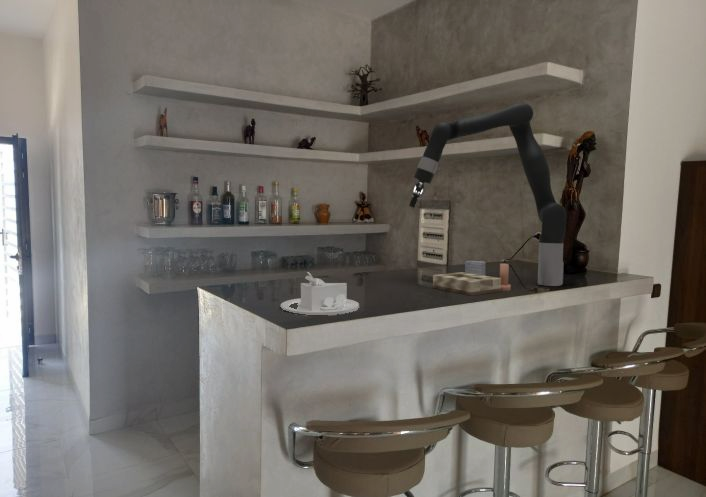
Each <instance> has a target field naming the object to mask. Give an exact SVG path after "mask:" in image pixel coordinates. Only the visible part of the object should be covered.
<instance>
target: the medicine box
mask: <svg viewBox="0 0 706 497" xmlns="http://www.w3.org/2000/svg"><path fill="white" fill-rule="evenodd" d="M486 265H487V264H486V261H484V260H483V261H482V260H479V261H478V260H466V261H465V262H464V273H470V274H477V275H483V276H486Z"/></svg>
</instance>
